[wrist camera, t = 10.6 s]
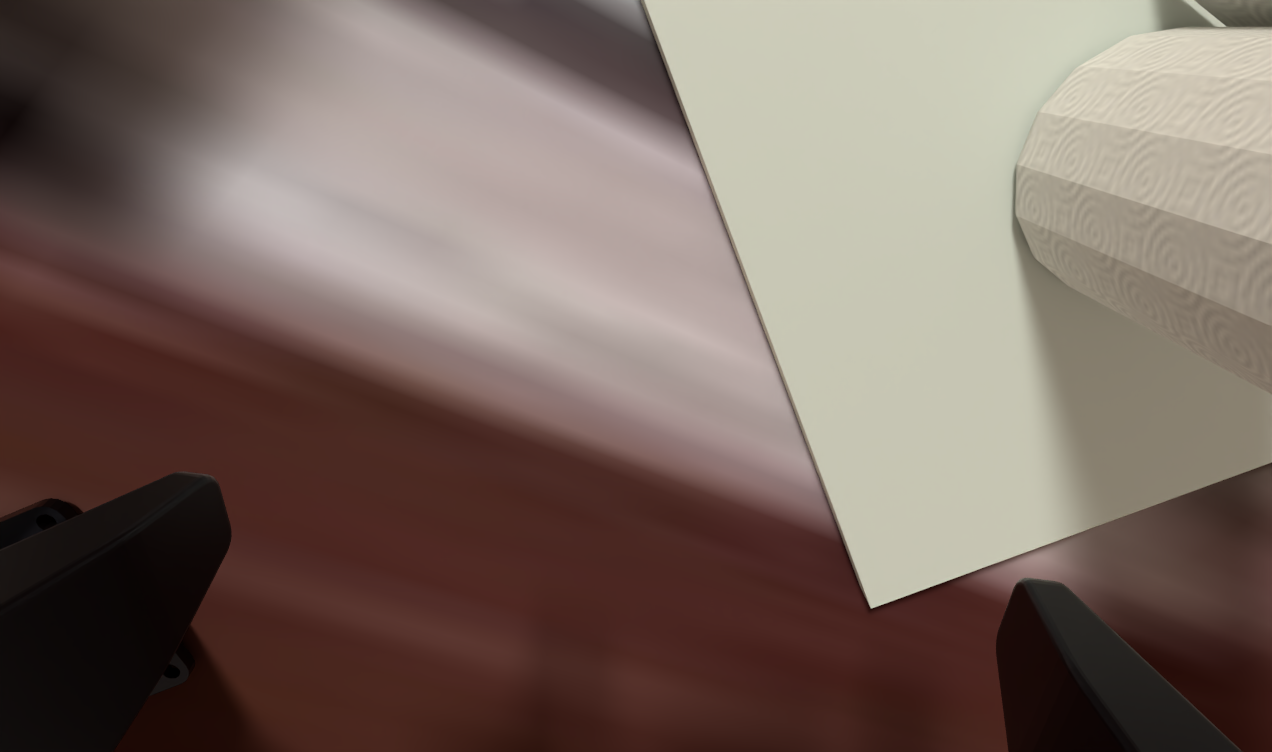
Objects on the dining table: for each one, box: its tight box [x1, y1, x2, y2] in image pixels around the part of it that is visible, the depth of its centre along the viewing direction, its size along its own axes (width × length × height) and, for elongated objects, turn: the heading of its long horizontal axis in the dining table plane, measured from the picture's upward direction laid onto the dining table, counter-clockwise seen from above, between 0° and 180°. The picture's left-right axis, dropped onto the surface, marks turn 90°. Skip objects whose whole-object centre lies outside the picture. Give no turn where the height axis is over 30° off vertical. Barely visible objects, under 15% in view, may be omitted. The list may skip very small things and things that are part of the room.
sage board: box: [641, 0, 1272, 609], centre depth 20 cm, size 20×20×1 cm
